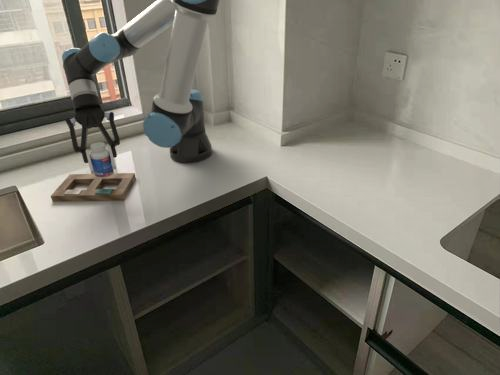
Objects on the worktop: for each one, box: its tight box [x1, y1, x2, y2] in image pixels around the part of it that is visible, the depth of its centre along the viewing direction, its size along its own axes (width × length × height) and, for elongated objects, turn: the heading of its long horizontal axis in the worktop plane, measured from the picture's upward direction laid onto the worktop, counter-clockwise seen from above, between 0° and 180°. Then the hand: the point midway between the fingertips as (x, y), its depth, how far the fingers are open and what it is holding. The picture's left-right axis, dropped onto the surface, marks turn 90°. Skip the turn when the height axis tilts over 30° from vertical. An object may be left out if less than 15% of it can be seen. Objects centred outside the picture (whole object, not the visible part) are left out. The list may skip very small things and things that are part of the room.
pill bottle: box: [89, 141, 114, 178], centre depth 108 cm, size 6×5×10 cm
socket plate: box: [50, 172, 137, 203], centre depth 112 cm, size 21×13×2 cm, turn 90°
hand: (103, 169), depth 106 cm, fingers closed on pill bottle, 5 cm apart
